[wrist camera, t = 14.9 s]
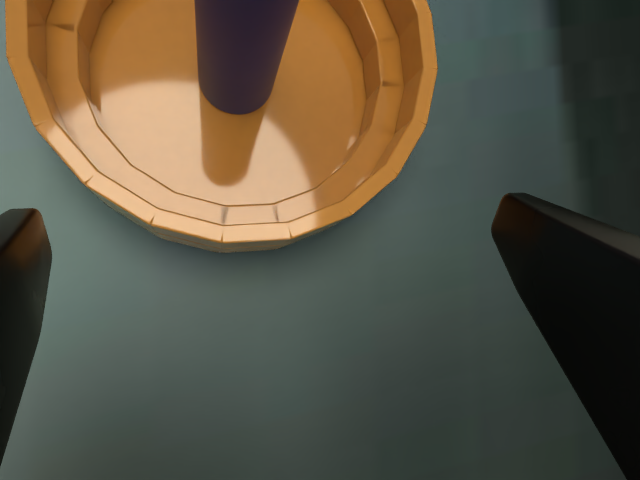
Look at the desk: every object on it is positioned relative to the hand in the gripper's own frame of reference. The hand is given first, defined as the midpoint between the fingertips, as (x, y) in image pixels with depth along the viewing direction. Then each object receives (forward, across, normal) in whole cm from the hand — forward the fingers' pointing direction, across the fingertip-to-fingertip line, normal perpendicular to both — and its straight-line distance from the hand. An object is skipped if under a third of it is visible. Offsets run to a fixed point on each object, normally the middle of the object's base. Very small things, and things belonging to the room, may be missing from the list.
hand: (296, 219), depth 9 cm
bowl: (+13, 0, +2) cm, 13 cm away
